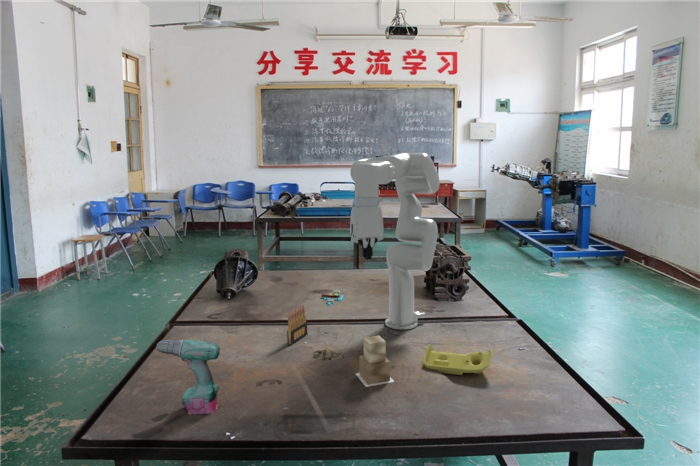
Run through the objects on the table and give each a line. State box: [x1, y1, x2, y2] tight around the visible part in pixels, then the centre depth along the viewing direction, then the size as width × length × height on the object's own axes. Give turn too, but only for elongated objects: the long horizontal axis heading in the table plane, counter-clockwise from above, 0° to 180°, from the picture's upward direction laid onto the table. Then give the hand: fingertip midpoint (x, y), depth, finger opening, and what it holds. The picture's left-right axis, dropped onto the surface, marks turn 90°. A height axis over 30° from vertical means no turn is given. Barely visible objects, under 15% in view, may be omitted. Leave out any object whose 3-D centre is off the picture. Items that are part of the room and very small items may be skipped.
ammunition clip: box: [286, 303, 308, 346], centre depth 188 cm, size 11×2×12 cm, turn 153°
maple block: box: [363, 334, 387, 363], centre depth 155 cm, size 5×5×6 cm
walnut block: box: [358, 354, 391, 385], centre depth 156 cm, size 7×7×6 cm
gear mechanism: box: [321, 287, 344, 306], centre depth 235 cm, size 20×5×9 cm
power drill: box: [156, 339, 221, 415], centre depth 141 cm, size 7×16×20 cm, turn 95°
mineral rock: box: [312, 347, 345, 361], centre depth 172 cm, size 11×4×8 cm
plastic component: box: [422, 343, 493, 376], centre depth 163 cm, size 20×8×10 cm
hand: (367, 258), depth 169 cm, fingers closed
